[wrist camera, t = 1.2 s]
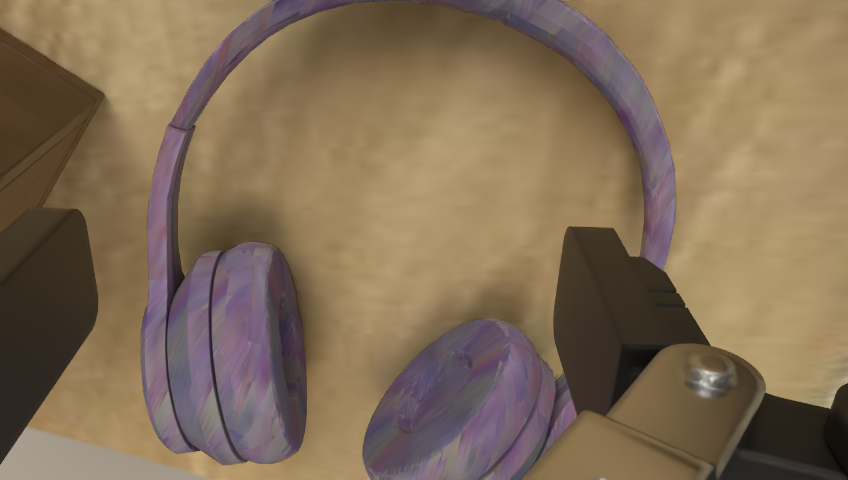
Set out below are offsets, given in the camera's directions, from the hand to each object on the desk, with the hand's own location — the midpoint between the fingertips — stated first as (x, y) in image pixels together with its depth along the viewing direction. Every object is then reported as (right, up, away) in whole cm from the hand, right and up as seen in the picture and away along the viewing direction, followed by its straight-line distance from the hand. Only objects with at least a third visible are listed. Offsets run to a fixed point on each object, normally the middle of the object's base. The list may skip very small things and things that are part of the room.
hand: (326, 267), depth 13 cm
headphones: (+1, +2, +18) cm, 18 cm away
